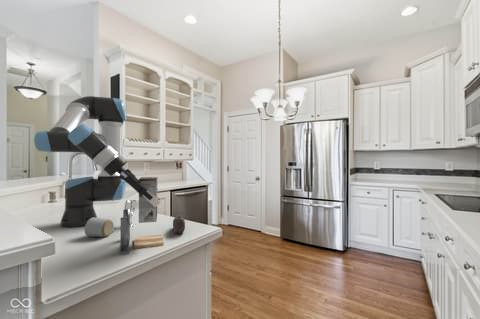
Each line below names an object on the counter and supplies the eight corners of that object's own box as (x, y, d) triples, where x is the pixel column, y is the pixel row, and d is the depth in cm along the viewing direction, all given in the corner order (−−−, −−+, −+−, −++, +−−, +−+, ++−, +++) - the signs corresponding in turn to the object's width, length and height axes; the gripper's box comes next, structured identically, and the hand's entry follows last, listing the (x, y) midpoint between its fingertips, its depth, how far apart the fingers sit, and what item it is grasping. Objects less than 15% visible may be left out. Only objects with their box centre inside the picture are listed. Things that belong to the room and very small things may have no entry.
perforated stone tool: (173, 226, 111) (173, 212, 111) (184, 226, 112) (184, 211, 112) (172, 236, 96) (172, 219, 96) (185, 235, 97) (185, 219, 97)
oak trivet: (134, 240, 91) (134, 237, 91) (161, 236, 95) (161, 234, 95) (134, 248, 82) (134, 246, 82) (163, 244, 86) (163, 242, 86)
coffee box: (140, 217, 92) (140, 177, 92) (157, 216, 94) (157, 176, 94) (137, 223, 83) (138, 178, 83) (156, 222, 85) (157, 178, 85)
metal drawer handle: (123, 239, 93) (123, 209, 93) (129, 238, 94) (130, 208, 94) (120, 255, 77) (120, 219, 77) (128, 253, 78) (128, 218, 78)
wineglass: (123, 225, 113) (123, 200, 113) (136, 223, 116) (136, 199, 116) (125, 227, 108) (125, 202, 108) (138, 225, 112) (138, 201, 112)
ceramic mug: (103, 239, 92) (103, 220, 92) (83, 239, 93) (84, 219, 93) (119, 232, 103) (119, 214, 103) (101, 231, 103) (101, 214, 103)
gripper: (106, 168, 93) (148, 204, 99) (97, 169, 73) (151, 215, 79) (121, 155, 95) (161, 191, 101) (116, 153, 75) (167, 199, 81)
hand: (157, 202), depth 90 cm, fingers closed on coffee box, 9 cm apart
